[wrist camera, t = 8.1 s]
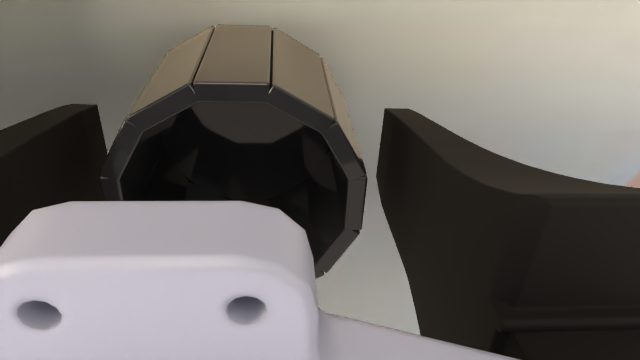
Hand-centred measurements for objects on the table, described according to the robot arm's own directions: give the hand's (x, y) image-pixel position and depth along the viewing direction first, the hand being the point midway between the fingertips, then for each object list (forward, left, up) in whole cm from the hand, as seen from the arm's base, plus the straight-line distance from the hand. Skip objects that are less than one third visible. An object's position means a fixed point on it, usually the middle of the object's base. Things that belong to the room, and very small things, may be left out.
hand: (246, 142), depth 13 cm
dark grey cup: (0, 0, -2) cm, 2 cm away
